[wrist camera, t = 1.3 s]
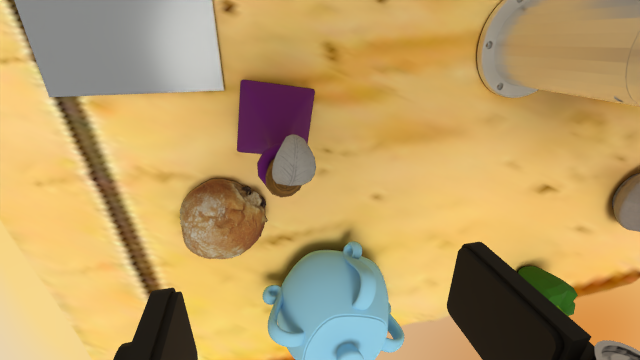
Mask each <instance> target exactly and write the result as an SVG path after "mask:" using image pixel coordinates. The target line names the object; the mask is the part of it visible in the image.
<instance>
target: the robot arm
mask: <svg viewBox="0 0 640 360" xmlns="http://www.w3.org/2000/svg"><path fill="white" fill-rule="evenodd" d="M477 64H478V70H479V74H480V77H481V79H482V81H483V83H484V84H485V86H486V87H487V88H488V89H489V90H490V91H492V92H493V93H495V94H497V95H500V96H503V97H509V98H520V97H524V96H527V95H530V94H532V93H534V92H536V91H538V90H545V91H551V92H557V93H563V94H569V95H575V96H581V97H587V98H592V99H598V100H604V101H610V102H616V103H622V104H628V105H634V106H640V0H503V1H502V2H501V3H500V4H499V5H498V6H497V7H496V8H495V10H494V11H493V12H492V14H491V15H490V17H489V18H488V20H487V22H486V24H485V26H484V28H483V31H482V33H481V36H480V40H479V44H478V51H477ZM447 309H448V312H449V314H450V316H451V317H452V318H453V320H454V321H455V323H456V324H457V325H458V327H459V328H460V329H461V331H462V332H463V333H464V335H465V336H466V338H467V339H468V340H469V342H470V343H471V344H472V346H473V347H474V348H475V350H476V351H477V352H478V354H479V355H480V357H481V358H482V359H483V360H640V352H639V351H638V350H636V349H634V348H632V347H630V346H628V345H625V344H623V343H619V342H614V341H601V342H598V343H597V344H596V345H595V346H593V345H592V344H591V343H590V342H589V340H590V338H591V336H590V335H589V334H588V333H587V332H585V331H584V330H583V329H582V328H581V327H580V326H578V325H577V324H576V323H575V322H574V321H573V320H571V319H570V318H569V317H568V316H567V315H566V314H565V313H563V312H562V311H561V310H560V309H559V308H558V307H556V306H555V305H554V304H553V303H552V302H551V301H549V300H548V299H547V298H546V297H545V296H544V295H543V294H541V293H540V292H539V291H538V290H537V289H536V288H534V287H533V286H532V285H531V284H530V283H529V282H527V281H526V280H525V279H524V278H523V277H522V276H521V275H519V274H518V273H517V272H516V271H515V270H514V269H512V268H511V267H510V266H509V265H508V264H507V263H505V262H504V261H503V260H502V259H501V258H500V257H499V256H497V255H496V254H495V253H494V252H493V251H492V250H490V249H489V248H488V247H487V246H486V245H485V244H483V243H482V242H475V243H468V244H464V245H463V246H462V248H461V249H460V250H459V251H458V255H457V259H456V264H455V269H454V273H453V278H452V283H451V287H450V292H449V297H448V301H447ZM113 360H198V356H197V349H196V345H195V341H194V338H193V334H192V330H191V326H190V322H189V318H188V314H187V311H186V307H185V303H184V299H183V295H182V293H181V292H176V291H175V289H174V288H168V289H161V290H155V291H152V292H151V294H150V296H149V299H148V302H147V304H146V307H145V309H144V312H143V315H142V317H141V320H140V322H139V325H138V328H137V330H136V333H135V335H134V338H133V340H132V342H129V343H124V344H122V345H121V346H120V347H119V349H118V351H117V352H116V355H115V357H114V359H113Z"/></svg>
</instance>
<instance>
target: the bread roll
mask: <svg viewBox="0 0 640 360" xmlns="http://www.w3.org/2000/svg"><path fill="white" fill-rule="evenodd" d="M265 206H266V202H265V200H264V199H263V198H262V197H260V196H259V194H258V193H256V192H255V191H251V189H250V188H249V187H243V186H242V185H240V184H239V183H237V182H234V181H228V180H226V179H211V180H209V181H207V182H204V183H202V184H201V185H200V186H198V187H197V188H195V189H194V190H192V191H191V192H190V193H189V194H188V195H187V196H186V198H185V199H184V201H183V203H182V206H181V209H180V214H181V215H180V220H181V223H180V224H181V227H182V232H183V238H184V242H185V244H186V246H187V248H188V249H189V250H191V251H192V252H193V253H195V254H196V255H198V256H201V257H204V258H208V259H228V258H232V257H235V256H238V255H241V254H242V253H243V252H245V251H246V250H248V249H249V248H251V246H252V245H253V244H254V243H255V242H256V241H257V240H258V238H259V237H260V236H261V233H262V230H263V228H264V224H265V222H267V218H266V216H265Z"/></svg>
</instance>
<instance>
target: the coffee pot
mask: <svg viewBox="0 0 640 360" xmlns="http://www.w3.org/2000/svg"><path fill="white" fill-rule="evenodd" d="M612 207H613V209H614V214H615V217H616V219H617V221H618V222H619V223H620V225H621V226H623V227H624V228H626V229H628V230H633V231H639V232H640V173H638V174H635V175H633V176H631V177H630V178H628V179H627V180H626V181H624V182H623V183H622V185H621V186H620V187H619V188H618V190H617V191H616V193H615V195H614V197H613V201H612Z"/></svg>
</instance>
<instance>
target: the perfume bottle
mask: <svg viewBox="0 0 640 360" xmlns="http://www.w3.org/2000/svg"><path fill="white" fill-rule="evenodd" d="M314 94H315V91H314V89H309V88H302V87H295V86H287V85H280V84H273V83H265V82H258V81H251V80H241V85H240V103H239V122H238V140H237V151H238V152H244V153H257V154H262V155H261V157H260V159H259V161H258V163H257V166H258V176H259V178H260V179H261V180H262V181H263V183H264V184H265V185H266V187H267V188H268V189H269V191H270V192H271V193H272V194H274V195H276V196H279V197H287V196H292V195H293V194H294V193H296V192H297V191H298V190H300V188H301V186H302V185H304V184H306V183H307V182H309V181H311V179H312V178H313V176H314V174H315V170H316V164H315V158H314V156H313V153H312V151H311V150H310V148H309V146H308V145H307V143H308V136H309V129H310V122H311V115H312V108H313V101H314Z"/></svg>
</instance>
